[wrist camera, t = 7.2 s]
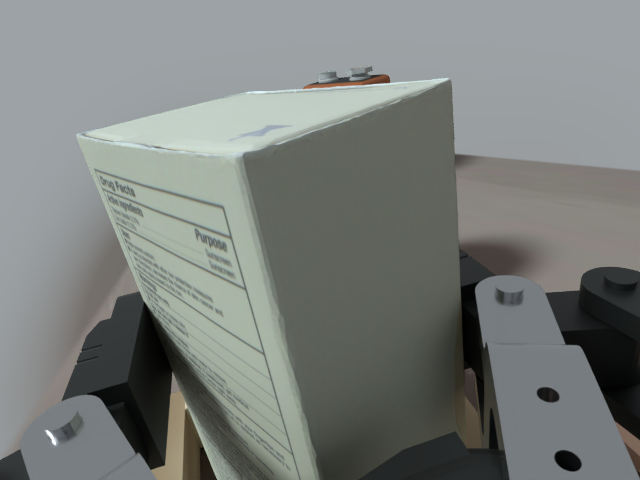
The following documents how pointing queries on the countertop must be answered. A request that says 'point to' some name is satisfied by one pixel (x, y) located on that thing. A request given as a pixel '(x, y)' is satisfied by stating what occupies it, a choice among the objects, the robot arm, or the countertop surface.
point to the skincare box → (298, 270)
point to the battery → (349, 78)
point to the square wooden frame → (185, 444)
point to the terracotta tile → (631, 445)
